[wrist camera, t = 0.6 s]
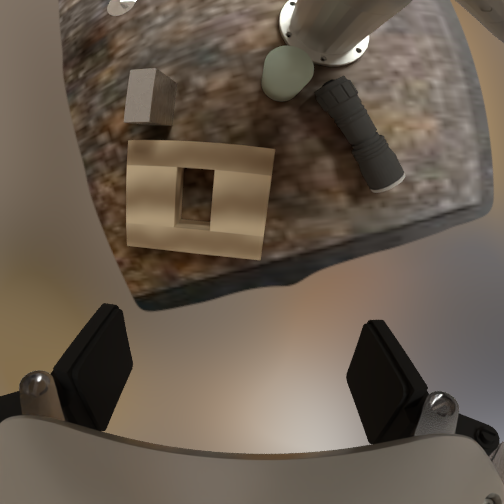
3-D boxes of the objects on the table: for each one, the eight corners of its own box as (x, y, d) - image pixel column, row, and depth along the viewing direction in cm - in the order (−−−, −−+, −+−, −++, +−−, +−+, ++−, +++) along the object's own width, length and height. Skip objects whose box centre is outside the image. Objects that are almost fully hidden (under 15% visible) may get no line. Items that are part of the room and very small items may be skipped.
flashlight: (306, 94, 33) (315, 87, 28) (338, 77, 31) (350, 68, 26) (365, 189, 37) (381, 196, 32) (393, 170, 36) (412, 175, 31)
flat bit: (156, 84, 32) (130, 70, 23) (177, 83, 32) (156, 68, 23) (151, 125, 34) (123, 122, 25) (172, 125, 34) (149, 121, 26)
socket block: (140, 139, 34) (128, 140, 31) (272, 148, 35) (275, 149, 31) (137, 236, 40) (127, 245, 36) (259, 249, 40) (260, 260, 37)
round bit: (263, 64, 31) (267, 42, 23) (301, 70, 31) (316, 50, 23) (259, 98, 33) (261, 85, 24) (297, 104, 33) (311, 93, 25)
